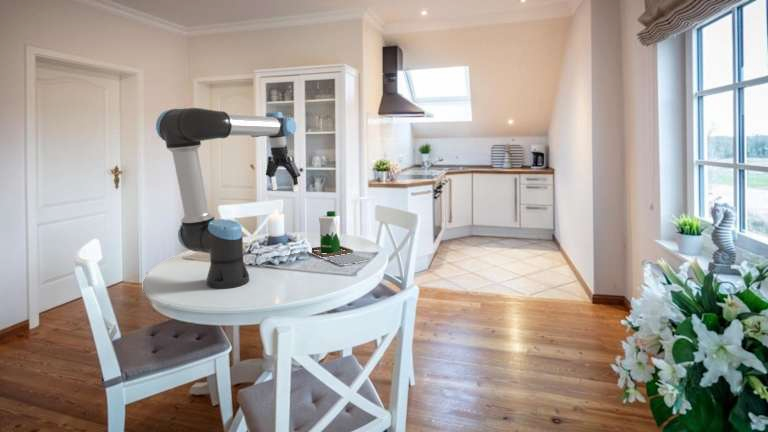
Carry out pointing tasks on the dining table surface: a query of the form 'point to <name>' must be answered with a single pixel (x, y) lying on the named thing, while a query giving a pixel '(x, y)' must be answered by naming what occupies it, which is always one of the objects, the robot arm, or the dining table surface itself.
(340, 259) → the grey mat
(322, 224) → the soya milk
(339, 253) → the walnut collar
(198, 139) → the robot arm
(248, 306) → the dining table surface
